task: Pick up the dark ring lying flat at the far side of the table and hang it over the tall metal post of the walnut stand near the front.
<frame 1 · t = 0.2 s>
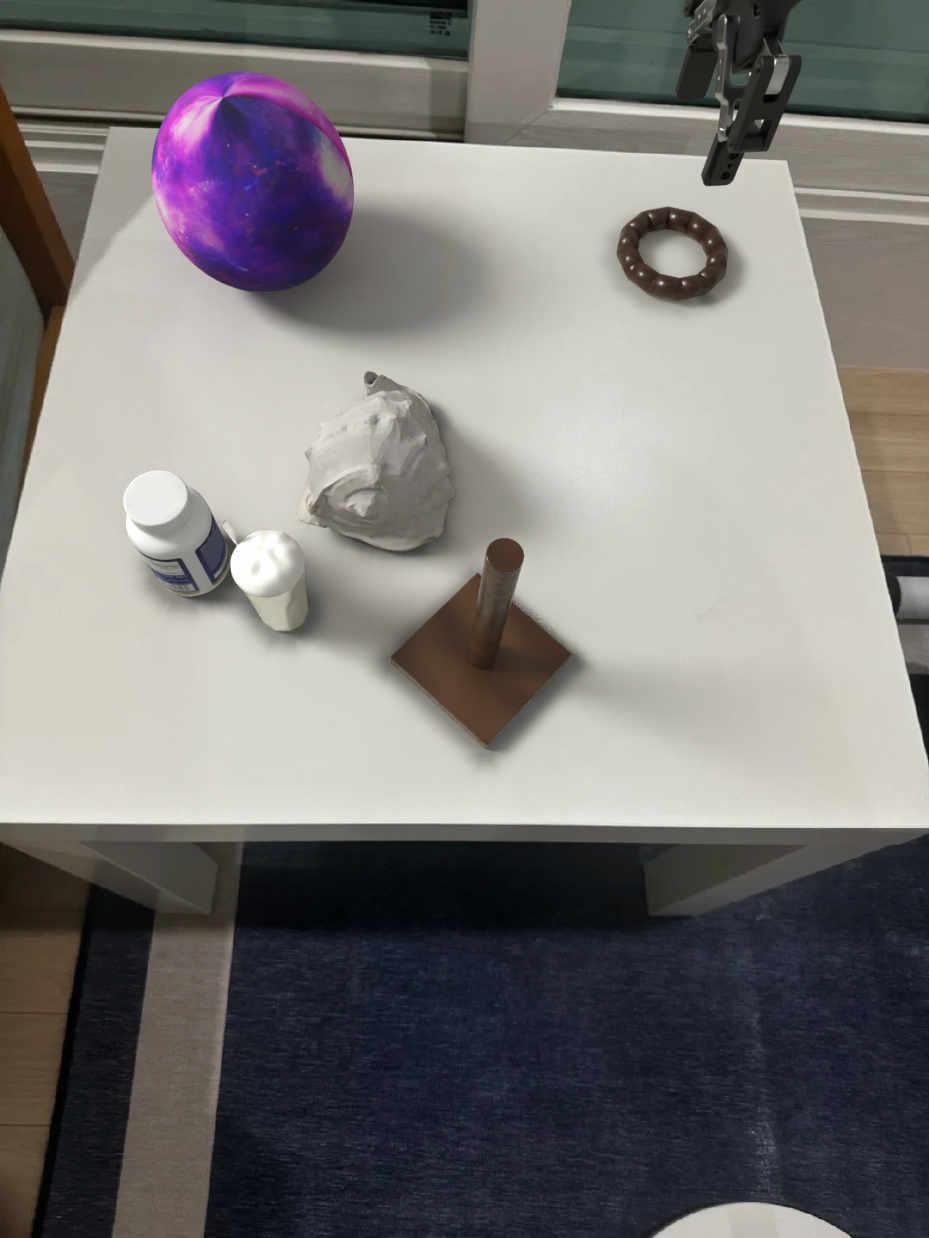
hand: (701, 138, 62), 13 cm above the table, tool pointing down, fingers open, 8 cm apart
ring: (672, 253, 74), point 1 cm above the table
decorative orb: (270, 263, 73), on the table
stand: (480, 660, 60), on the table
seashell: (370, 480, 65), on the table
milkshake: (281, 609, 61), on the table
pill bottle: (194, 565, 62), on the table
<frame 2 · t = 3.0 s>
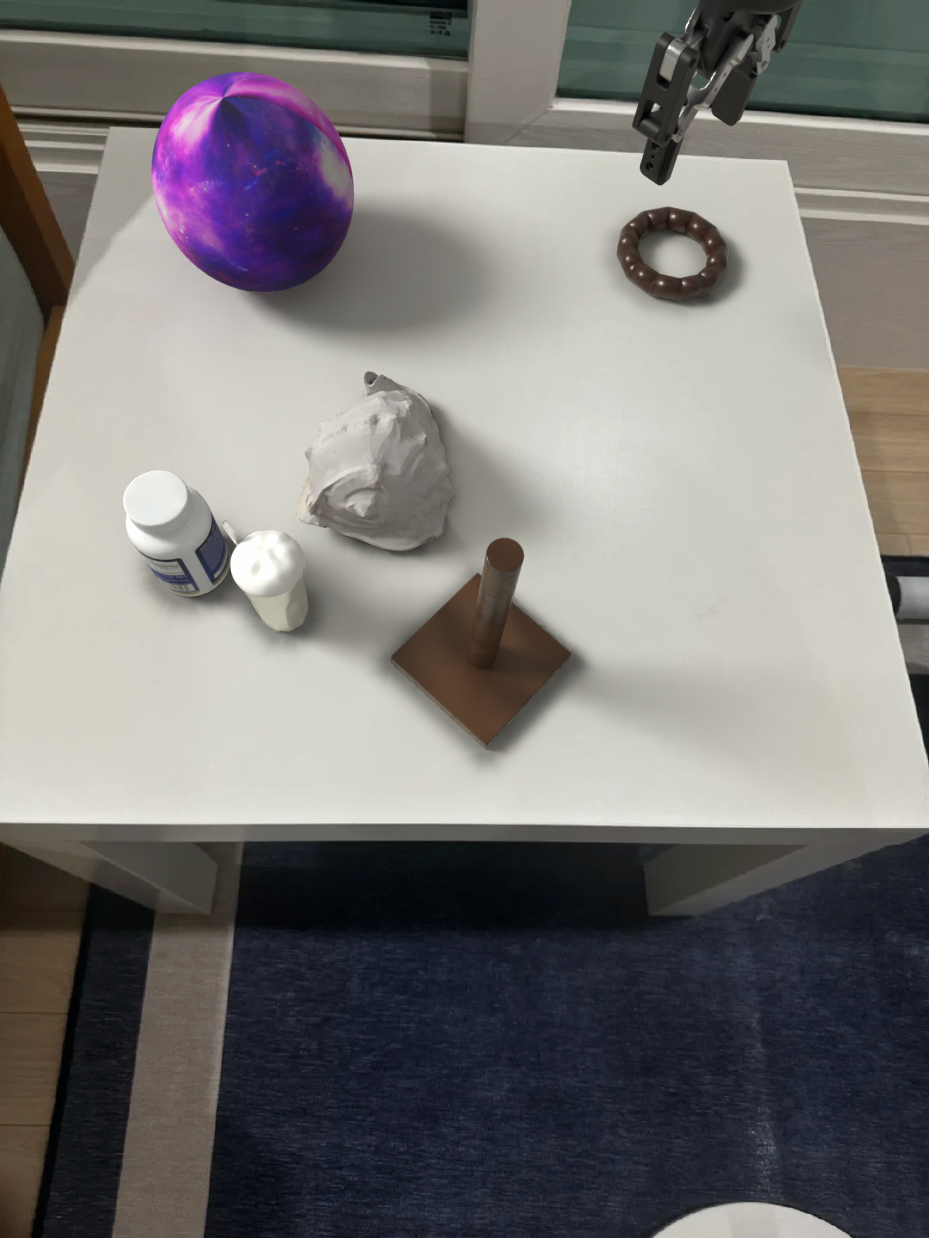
hand: (689, 147, 61), 14 cm above the table, tool pointing down, fingers open, 8 cm apart
nothing on the table moved.
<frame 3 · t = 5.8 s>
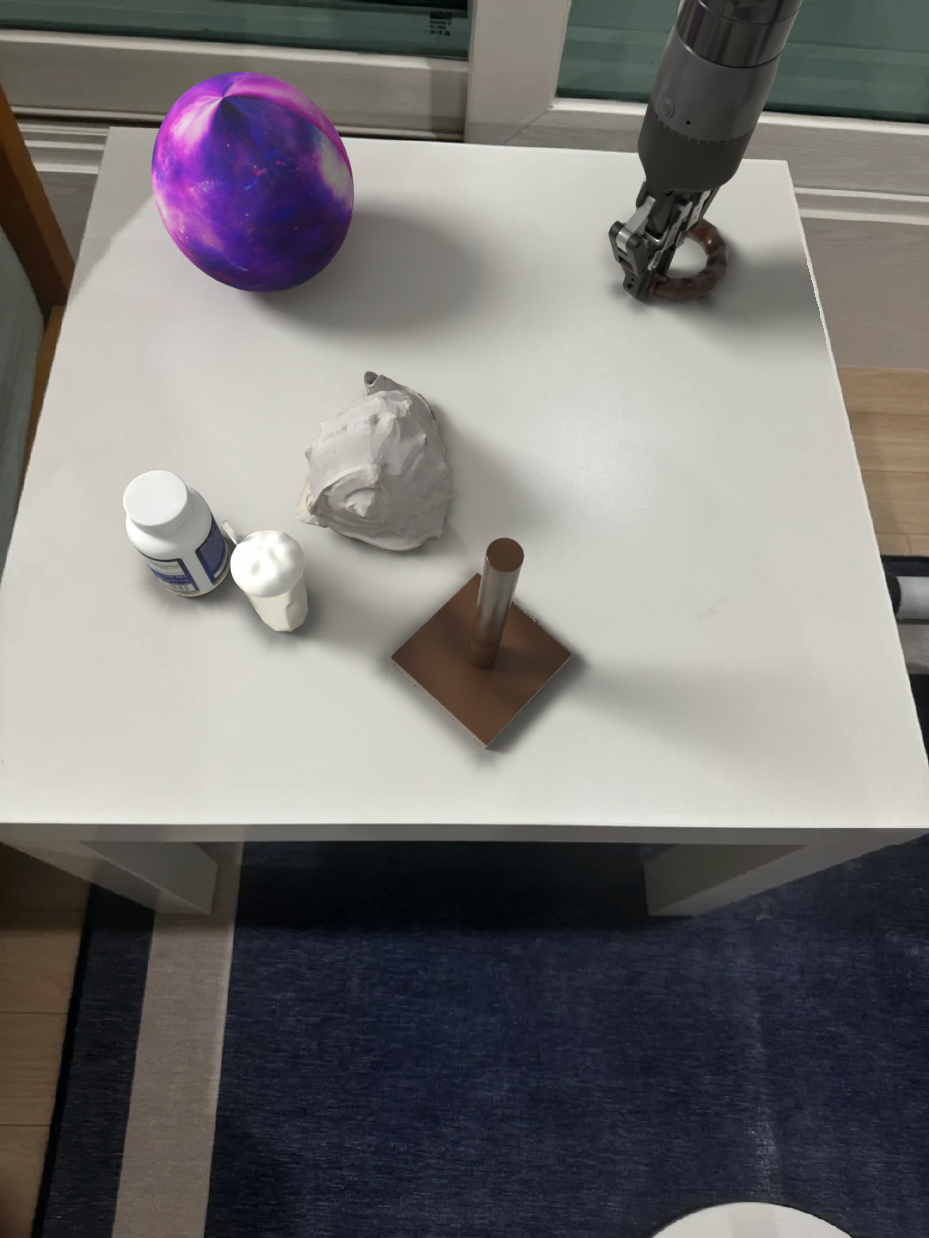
hand: (643, 283, 74), 0 cm above the table, tool pointing down, fingers closed on ring, 2 cm apart
ring: (672, 253, 74), point 1 cm above the table, touching gripper
everything else where it was.
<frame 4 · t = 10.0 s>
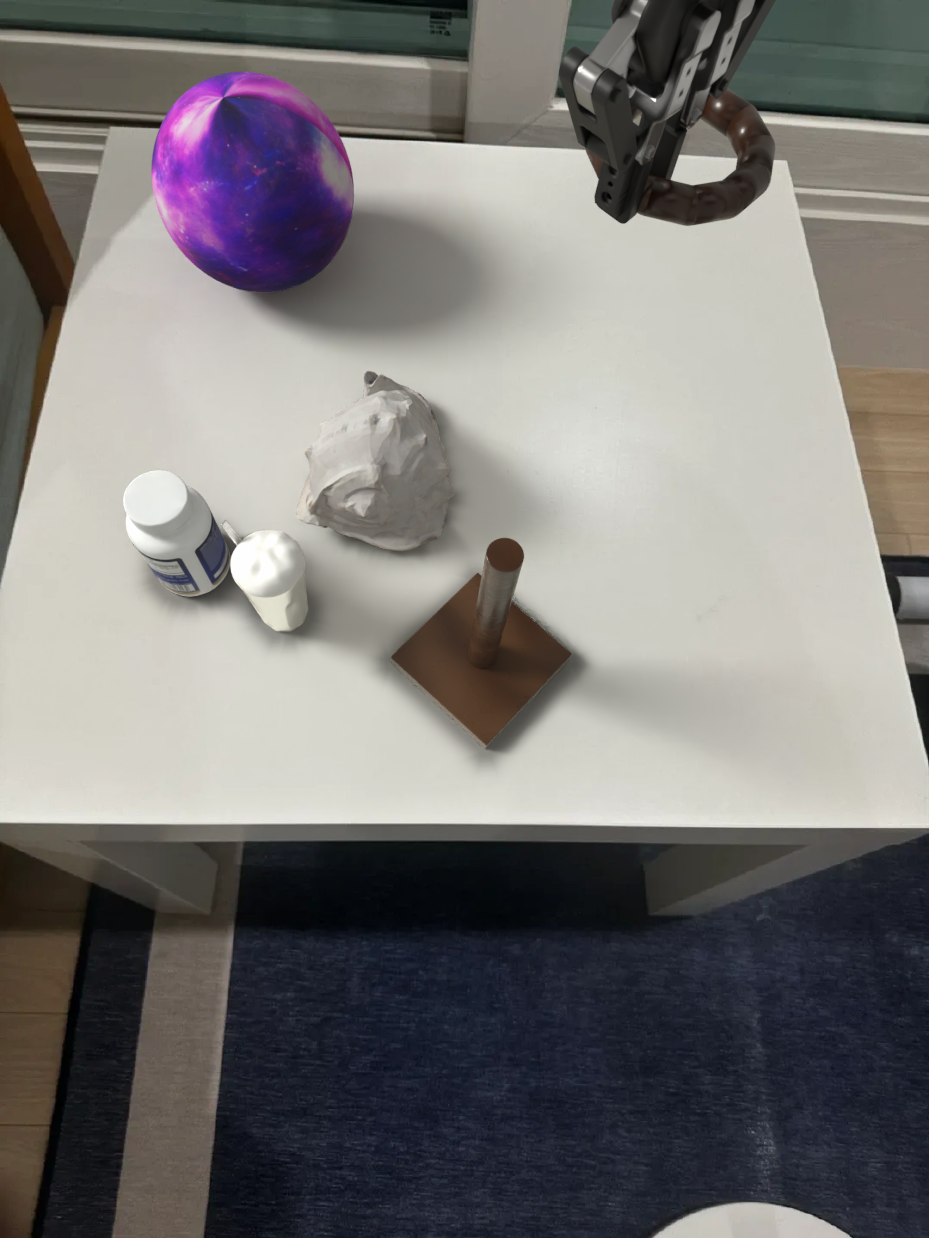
hand: (630, 197, 43), 25 cm above the table, tool pointing down, fingers closed on ring
ring: (680, 147, 44), point 26 cm above the table, touching gripper
everything else where it was.
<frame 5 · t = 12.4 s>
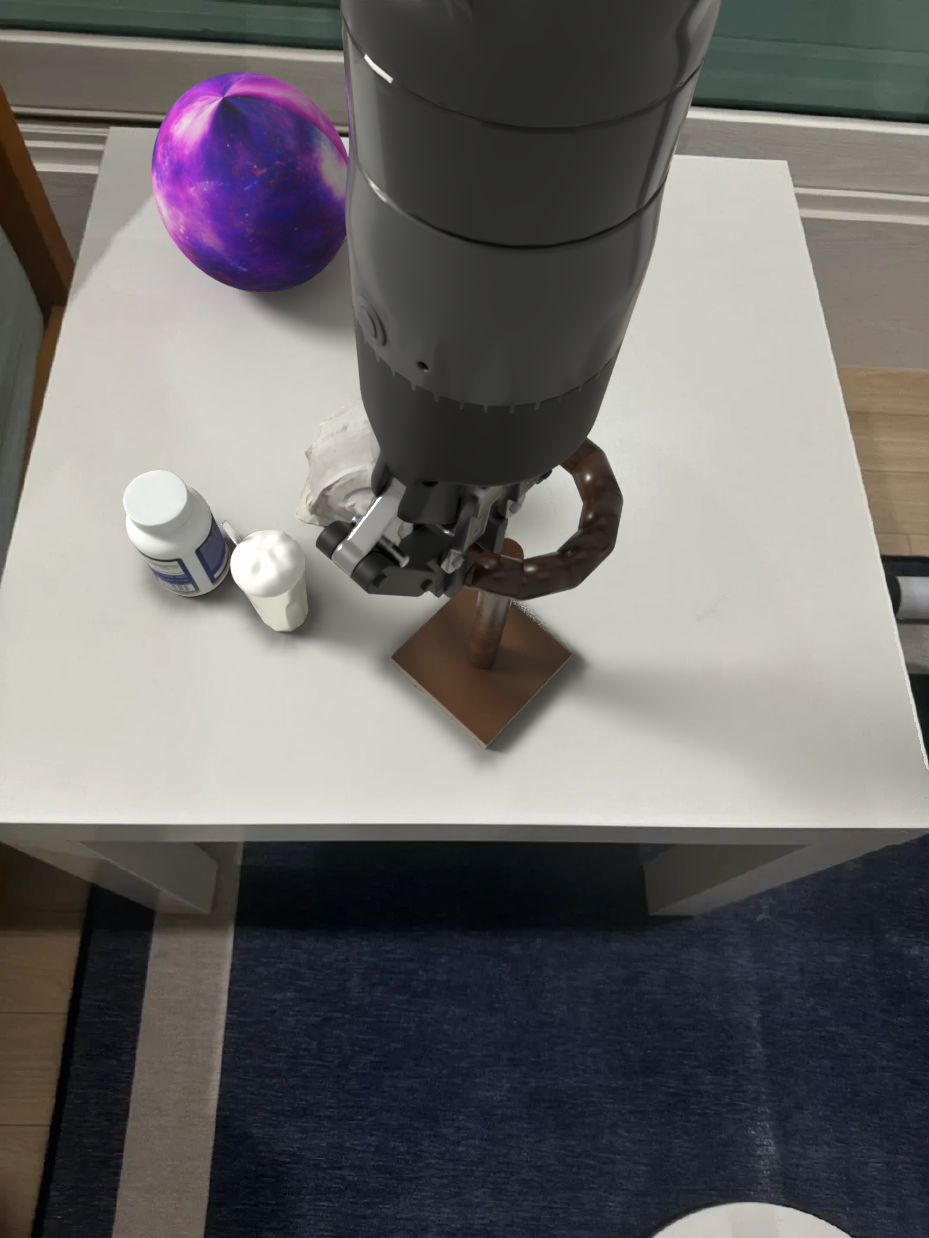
hand: (459, 561, 39), 22 cm above the table, tool pointing down, fingers closed on ring
ring: (516, 500, 39), point 23 cm above the table, touching gripper
everything else where it was.
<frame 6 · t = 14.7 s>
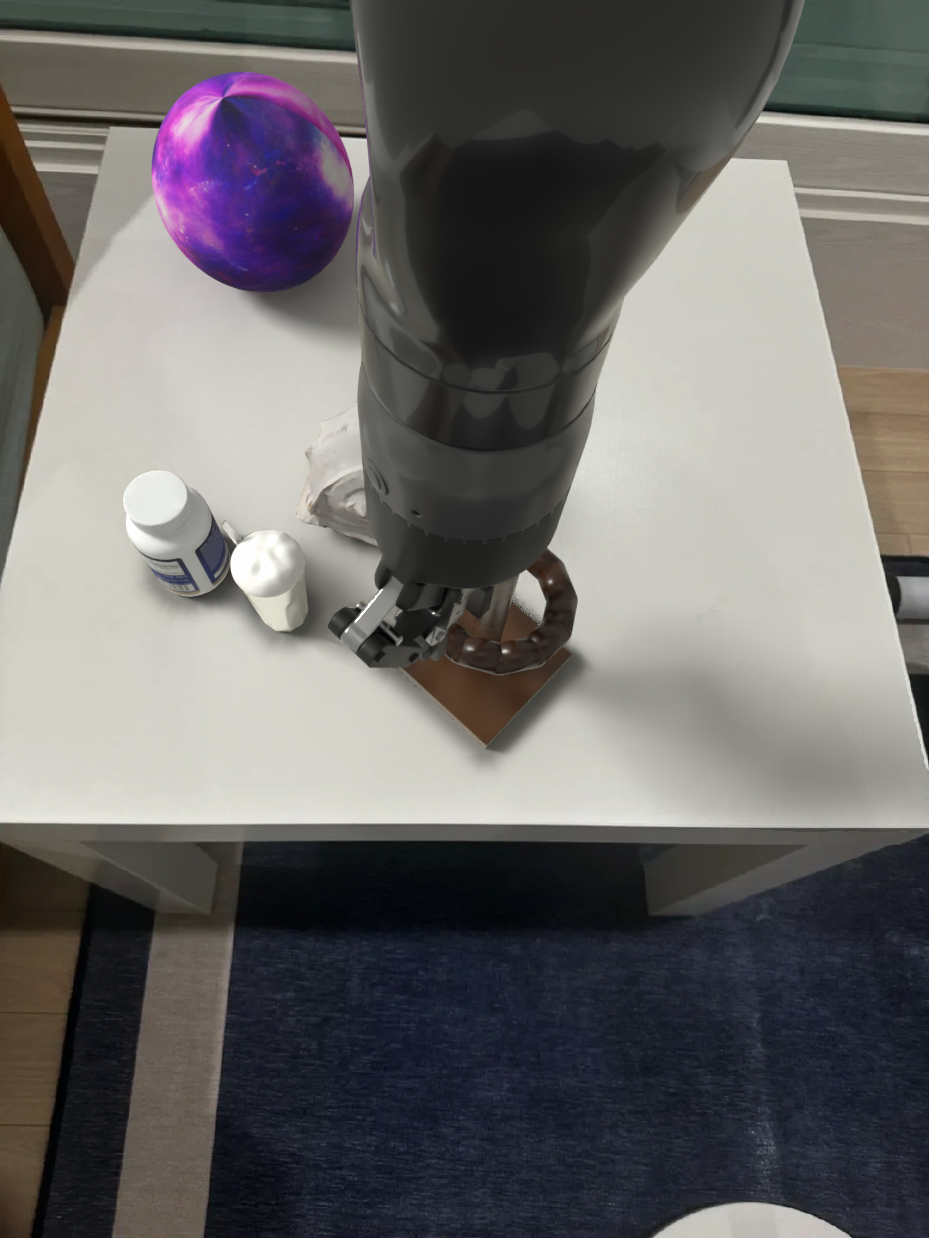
hand: (448, 623, 45), 15 cm above the table, tool pointing down, fingers closed
ring: (494, 596, 49), point 12 cm above the table, tilted 10°
everything else where it was.
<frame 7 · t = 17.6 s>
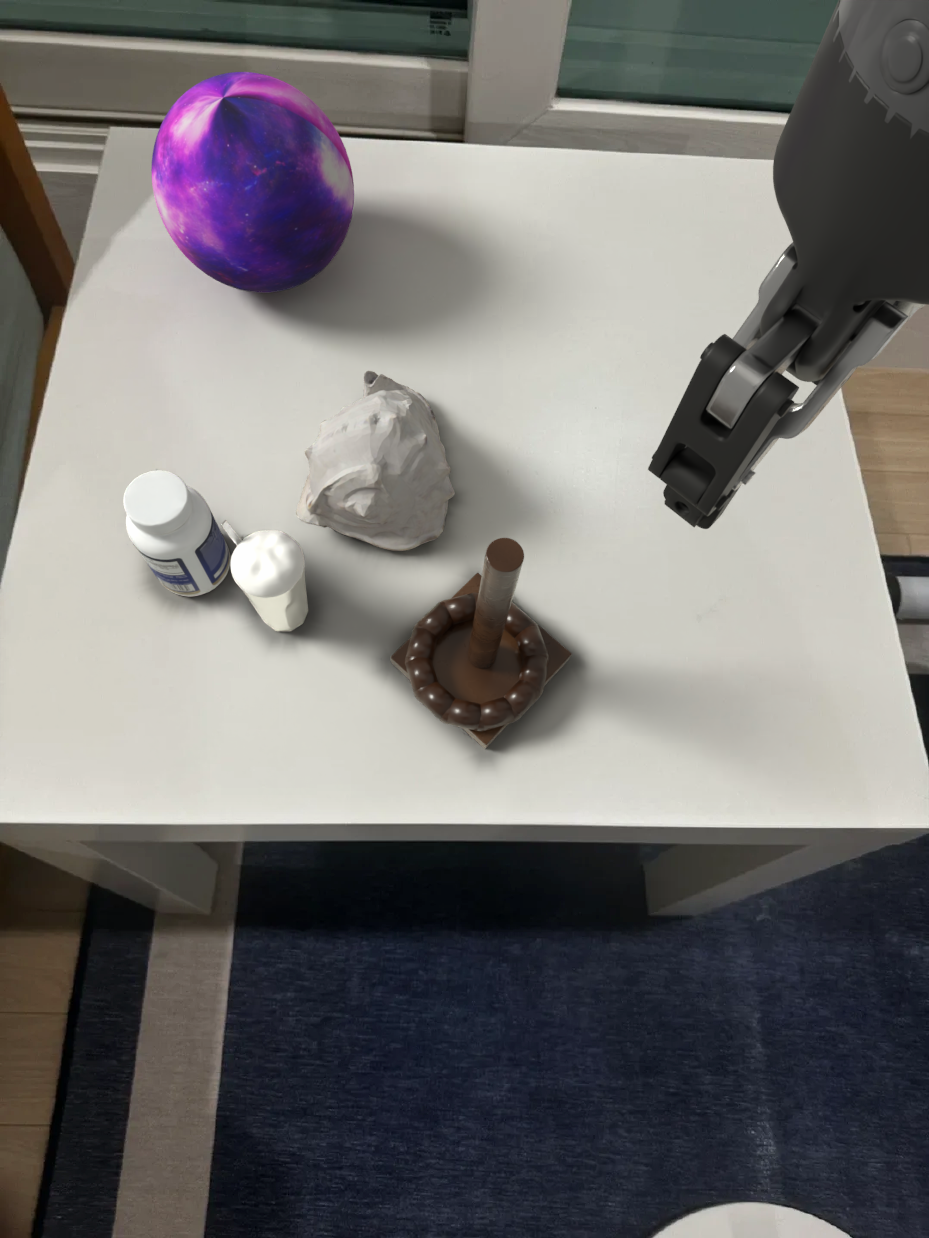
hand: (754, 440, 34), 29 cm above the table, tool pointing down, fingers open, 8 cm apart
ring: (477, 660, 58), point 2 cm above the table, touching stand
everything else where it was.
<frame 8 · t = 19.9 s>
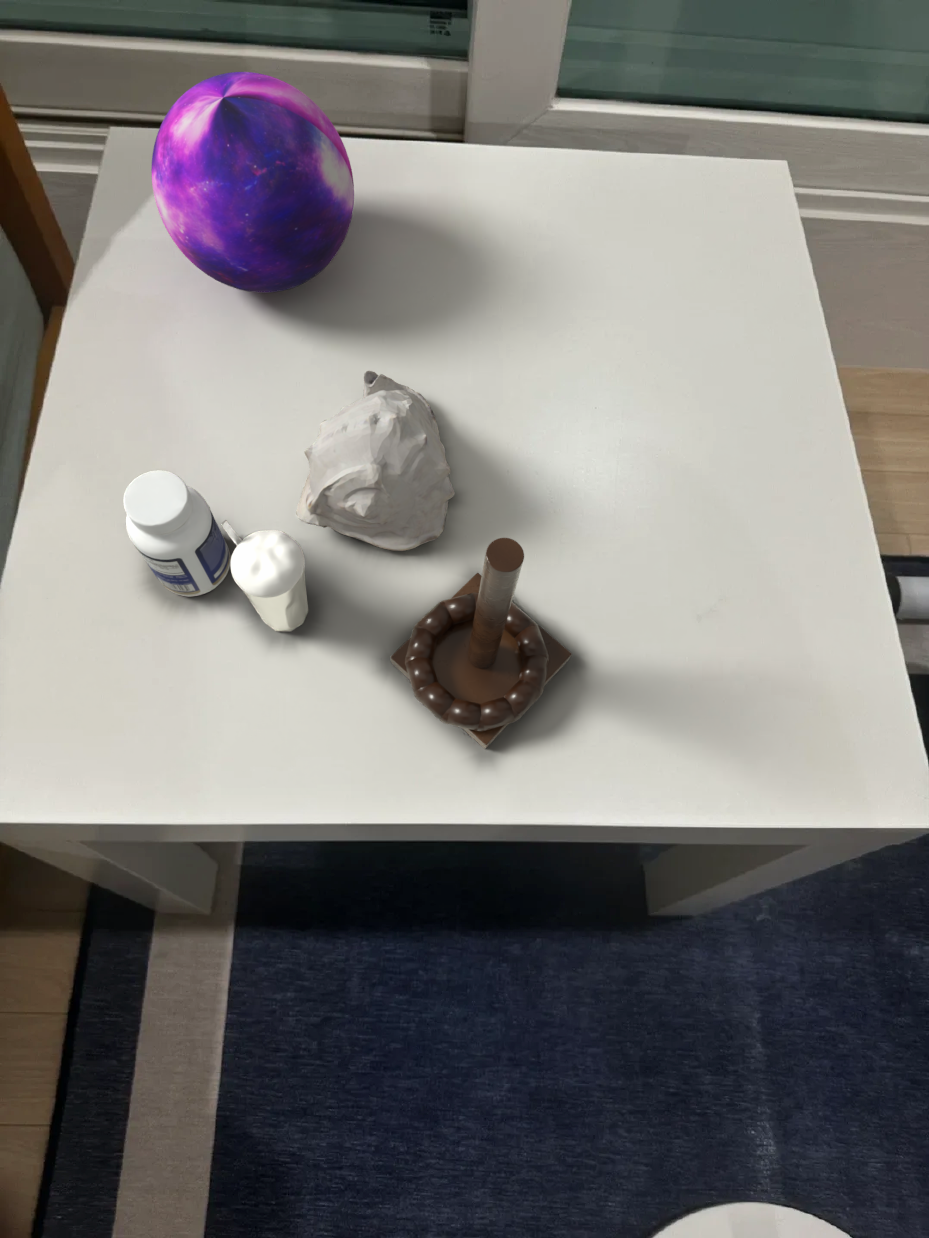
nothing on the table moved.
at the end: ring 0.8 cm from the stand (horizontally); ring point 2.1 cm above the table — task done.
